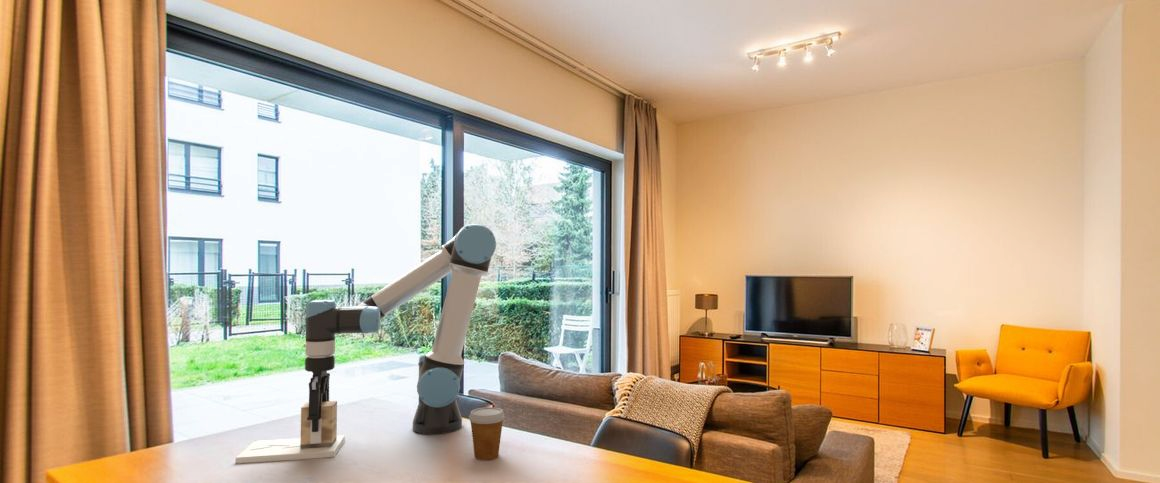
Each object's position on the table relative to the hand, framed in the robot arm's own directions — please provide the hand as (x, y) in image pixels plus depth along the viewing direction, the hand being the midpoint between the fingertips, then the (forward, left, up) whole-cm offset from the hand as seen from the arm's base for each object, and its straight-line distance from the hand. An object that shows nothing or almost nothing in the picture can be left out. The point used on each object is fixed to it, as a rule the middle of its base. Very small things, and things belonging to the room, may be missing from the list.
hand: (318, 439), depth 159 cm
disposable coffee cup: (-46, +15, -3) cm, 48 cm away
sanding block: (0, 0, -1) cm, 1 cm away
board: (+6, 0, -3) cm, 7 cm away
